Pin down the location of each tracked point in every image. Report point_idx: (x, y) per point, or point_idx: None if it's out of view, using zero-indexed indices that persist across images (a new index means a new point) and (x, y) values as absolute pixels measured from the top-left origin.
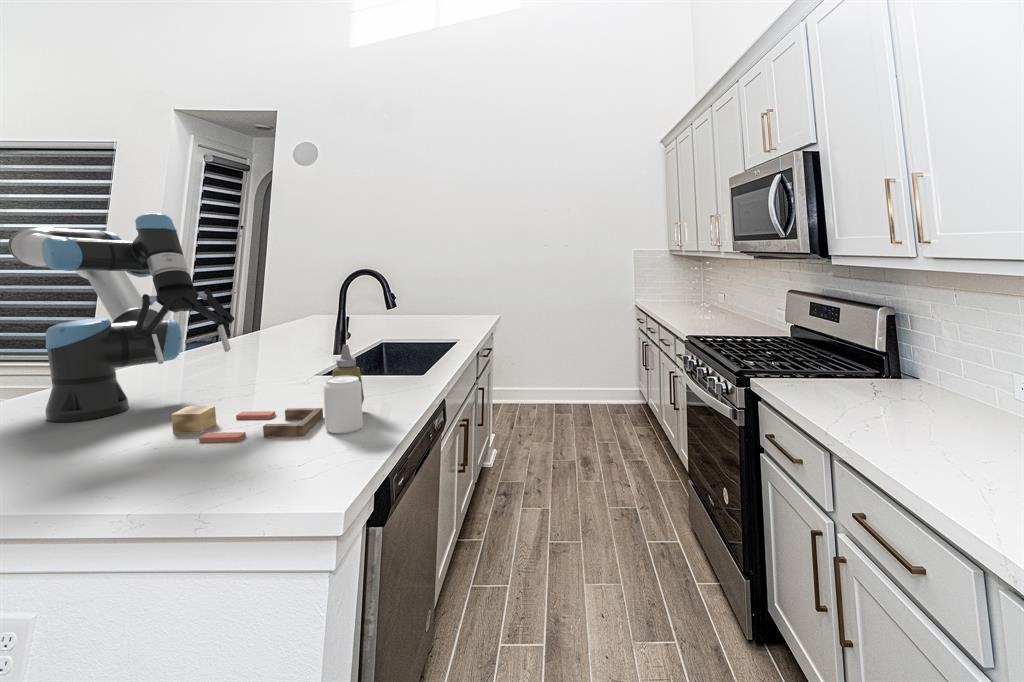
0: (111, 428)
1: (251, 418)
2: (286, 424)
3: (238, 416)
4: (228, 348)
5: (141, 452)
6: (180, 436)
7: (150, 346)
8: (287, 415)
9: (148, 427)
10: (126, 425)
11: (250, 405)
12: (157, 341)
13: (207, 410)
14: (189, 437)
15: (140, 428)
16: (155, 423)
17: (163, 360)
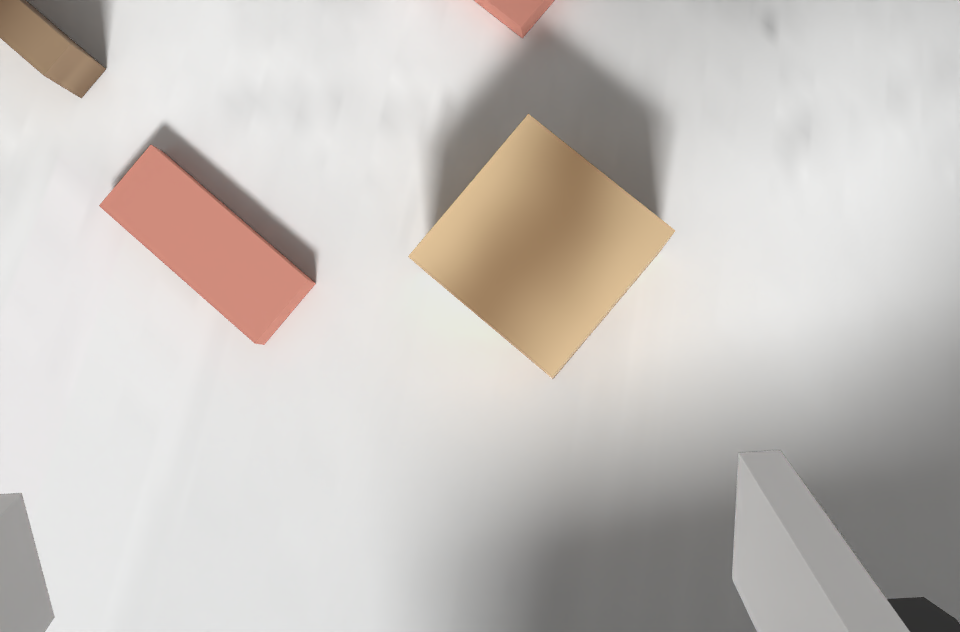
0: None
1: (244, 223)
2: None
3: (299, 270)
4: (2, 498)
5: (833, 3)
6: (636, 153)
7: (933, 618)
8: (79, 48)
9: None
10: None
11: (155, 565)
12: (859, 627)
13: (469, 186)
14: (600, 100)
15: None
16: (718, 543)
17: (745, 455)
